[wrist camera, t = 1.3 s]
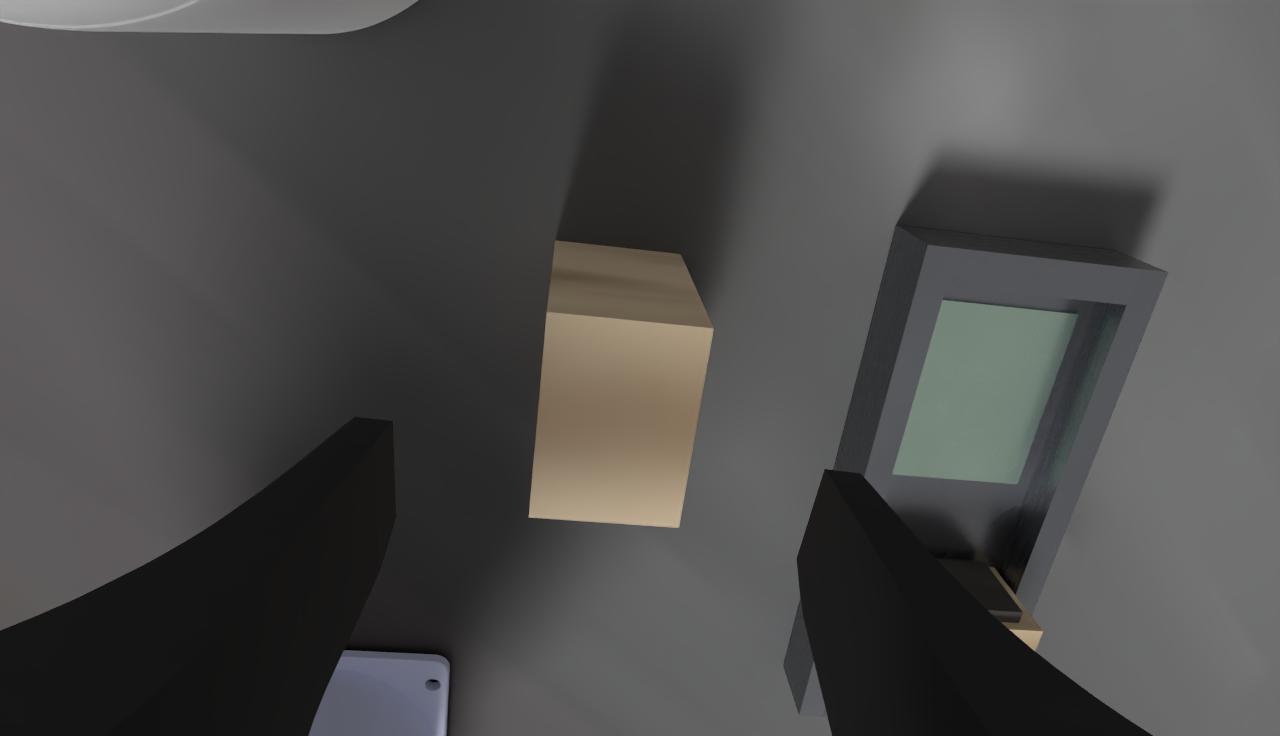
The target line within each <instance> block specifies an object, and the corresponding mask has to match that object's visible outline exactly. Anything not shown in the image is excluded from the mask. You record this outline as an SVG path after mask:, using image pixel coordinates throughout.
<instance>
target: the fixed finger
mask: <svg viewBox="0 0 1280 736" xmlns="http://www.w3.org/2000/svg"><path fill="white" fill-rule="evenodd" d="M937 560H938V561H939V562H940V563H941V564H942V565H943V566H944V567H945V568H946V570H947V571H948V572H949V573H950V574H951V575H952V576H953V577H954V578H955V579H956V580H957V581H958V582H959V583H960V584H961V585H962V586H963V587H964V588H965V589H966V590H967V591H968V592H969V593H970V594H971V595H972V596H973V597H974V598H975V599H976V600H977V601H979V602H980V603H981V604H982V605H983V606H984V607H985V608H986V609H987V610H988V611H989V612H990V613H991V614H992V615H993V616H995V617H996V618H997V619H998V620H999V621H1000V622H1001V623H1002V624H1003V625H1005V626H1006V627H1007V628H1008V629H1009V630H1010V631H1012V632H1013V633H1014V634H1015V635H1016V636H1017V637H1019V638H1020V639H1021V640H1022V641H1023V642H1024V643H1026V644H1027V645H1028V646H1029V647H1030V648H1032V649H1033V650H1034V651H1035V650H1036V648H1037V645H1038V643H1039V640H1040V638H1041V635H1042V633H1043V630H1042V629H1041V628H1040V627H1039V625H1038V624H1037V623H1036V621H1035V620H1034V619H1033V617H1032V616H1031V615H1030V614H1029V612H1028V611H1027V610H1026V608H1025V607H1024V606H1023V604H1022V603H1021V602H1020V600H1019V599H1018V598H1017V597H1016V595H1015V594H1014V593H1013V591H1012V590H1011V589H1010V587H1009V586H1008V585H1007V584H1006V582H1005V581H1004V580H1003V578H1002V577H1001V576H1000V574H999V573H998V572H997V571H996V569H995V568H994V567H988V565H987V564H986V563H985V562H979V561H964V560H949V559H937Z"/></svg>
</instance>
